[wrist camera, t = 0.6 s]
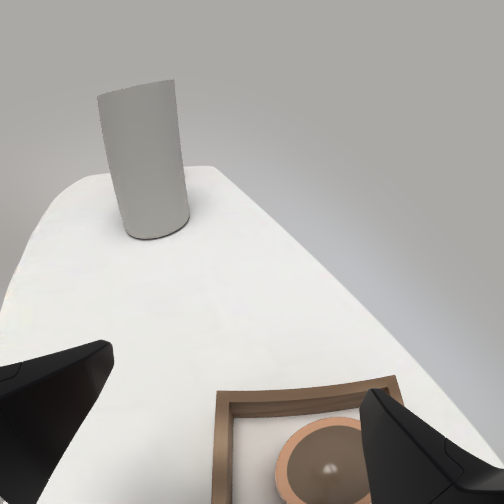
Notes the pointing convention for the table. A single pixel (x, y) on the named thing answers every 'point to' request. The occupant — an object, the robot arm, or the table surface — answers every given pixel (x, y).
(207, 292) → the table surface
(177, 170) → the cylinder vase
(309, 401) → the brown wooden square frame
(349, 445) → the terracotta pot
